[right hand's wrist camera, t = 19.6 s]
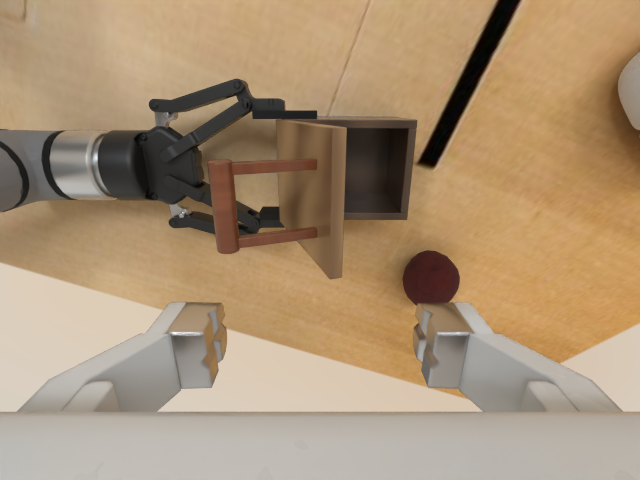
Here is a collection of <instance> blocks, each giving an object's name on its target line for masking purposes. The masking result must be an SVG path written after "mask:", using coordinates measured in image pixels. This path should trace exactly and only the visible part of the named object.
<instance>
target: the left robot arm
mask: <svg viewBox="0 0 640 480" xmlns="http://www.w3.org/2000/svg"><path fill="white" fill-rule="evenodd" d="M233 96H237V99H238V101H239V102H237V103H236V104H234V105H233V106H231V107H230V108H228V109H227V110H225V111H223V112H222V113H220V114H219V115H217V116H216V117H214V118H213V119H211V120H210V121H208V122H207V123H205V124H204V125H202V126H201V127H199V128H198V129H196V130H195V131H193V132H191V133H189V134H187V135H186V136H182V135H181V134H179V133H178V132H176V131H175V130H173V129H172V128H171V127H169V123H170V122H171V121H173V120H176V119H177V118H178V112H186V111H190V110H193V109H196V108H199V107H202V106H205V105H209V104H212V103H215V102H218V101H221V100H224V99H227V98H230V97H233ZM149 107H150V109H151V110H152V111H154V112H155V121H156V127H154V128H153V129H151V130H113V131H110V132H108V131H105V130H67V131H29V130H7V129H0V212H5V211H8V210H11V209H14V208H17V207H20V206H23V205H26V204H29V203H32V202H36V201H42V200H116V199H119V200H159V201H163V202H165V203H167V204H169V207H170V211H171V216H172V218H171V219H170V220H169V225H170V226H171V227H172V228H186V227H190V228H194V229H198V230H202V231H205V232H209V233H213V234H215V225H214V217H213V216H212V215H209V214H205V213H201V212H195V211H191V209H190V208H189V207H185V206H183V205H182V204H181V202H180V201H181V200H183V199H184V198H185V197H187V196H188V197H190V198H192V199H194V200H196V201H199V202H203V203H205V204H207V205H209V206H211V207H212V199H211V191H210V184H208V183H206V182H204V181H203V179H204V172H203V169H202V167H201V159H202V156H201V151H199V149H198V146H199V145H201V144H203V143H204V142H206V141H207V140H208V139H209V138H211V137H213V136H214V135H216V134H217V133H219V132H220V131H222V130H223V129H225V128H226V127H228V126H230V125H231V124H233V123H234V122H236V121H237V120H239V119H240V118H242V117H244V116H245V115H247V114H248V113H250V112H251V111H252V115H253V119H317V111H285V101H284V100H281V99H256V98H254V97H253V96H252V95H251V93H250V91H249V88H248V84H247V83H246V82H245V81H243V80H240V79H233V80H230V81H227V82H224V83H221V84H218V85H215V86H212V87H209V88H206V89H203V90H200V91H197V92H194V93H191V94H188V95H185V96H182V97H179V98H176V99H173V100H164V99H152V100H150V102H149ZM236 208H237V220H238V221H239V222H241V223H238V231H239V236H240V235H249V234H257V233H258V231H259V229H260V228H263V227H285V226H284V225H283V224H282V223H281V222H280V212H279V207H262V209H261V211H260V212H257V211H255V210H253V209H251V208H249V207H247V206H246V205H244V204H242V203H240V202H238V201H236ZM242 223H243V224H242Z"/></svg>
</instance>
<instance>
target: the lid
mask: <svg viewBox="0 0 640 480" xmlns="http://www.w3.org/2000/svg"><path fill="white" fill-rule="evenodd" d="M346 136H347V128H346V127H339V126H331V125H323V124H316V123H308V122H300V121H293V120H285V119H277V120H276V137H277V160H265V161H245V162H232V161H231V160H226V159H218V160H210V161H208V162H207V164H208V173H209V182H210V191H211V199H212V208H213V217H214V225H215V234H216V243H217V251H218V252H219V253H222V254H231V253H235V252H237V251H239V249H240V248H244V247H251V246H259V245H266V244H274V243H282V242H289V241H297V242H298V243H299V244H300V245H301V246H302V247H303V248H304V250H305V251H306V252H307V253H308V254H309V255H310V257H311V258H312V259H313V260H314V261H315V262H316V264H317V265H318V266H319V267H320V268H321V269H322V271H323V272H324V273H325V274H326V275H327V276H328V277H329V279H336V278H341V277H342V259H343V229H344V198H345V167H346ZM270 172H278V187H279V212H280V222H281V223H282V224H283V225H284V226H285V228H286V229H287V230H282V231H274V232H265V233H257V234H249V235H240V236H239V231H238V220H237V208H236V197H235V186H234V175H238V174H254V173H270Z"/></svg>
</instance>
